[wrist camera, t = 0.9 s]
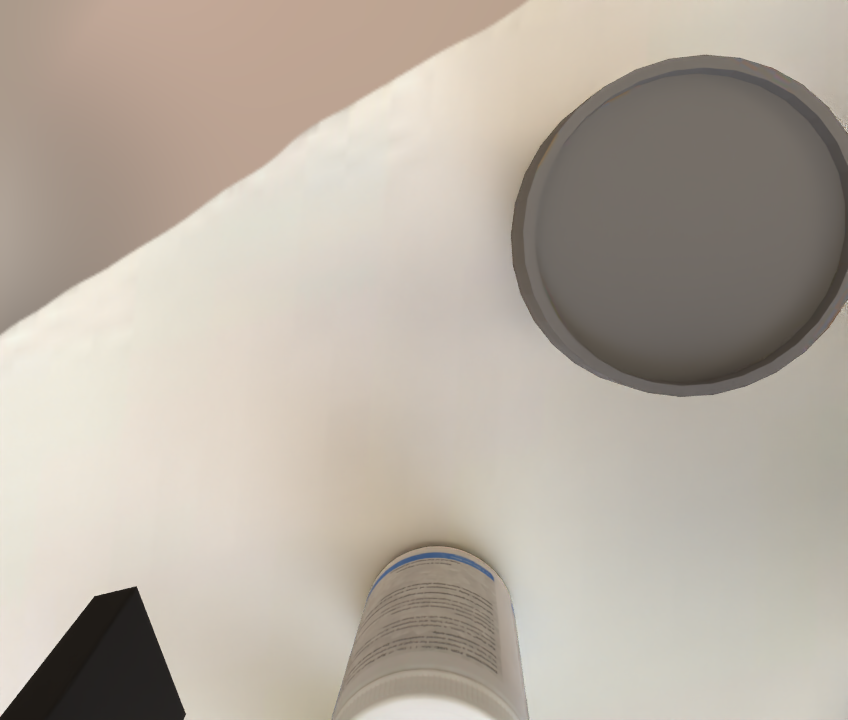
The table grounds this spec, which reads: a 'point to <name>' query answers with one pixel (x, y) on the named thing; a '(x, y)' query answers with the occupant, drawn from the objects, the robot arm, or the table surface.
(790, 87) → the reusable coffee cup
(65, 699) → the robot arm
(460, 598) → the supplement tub
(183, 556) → the table surface
